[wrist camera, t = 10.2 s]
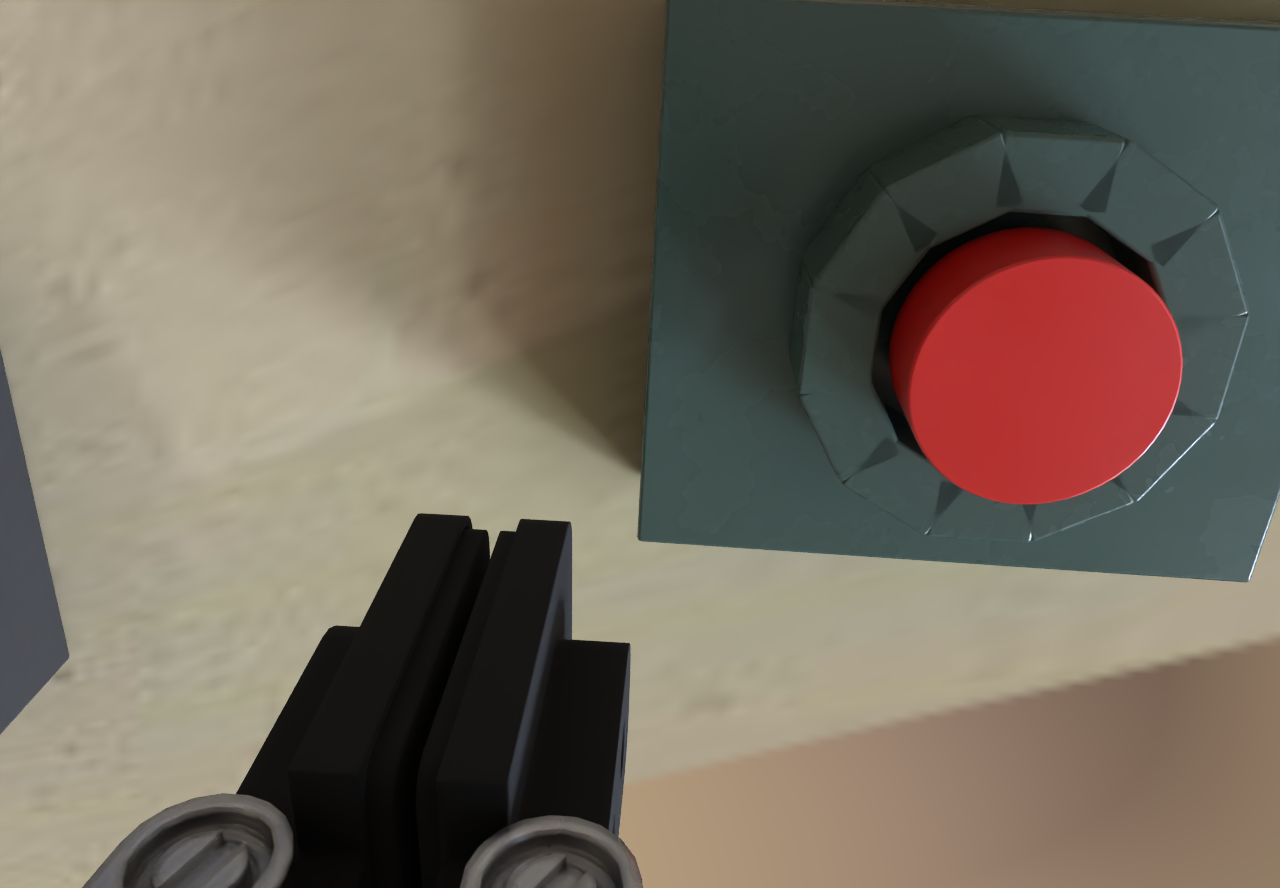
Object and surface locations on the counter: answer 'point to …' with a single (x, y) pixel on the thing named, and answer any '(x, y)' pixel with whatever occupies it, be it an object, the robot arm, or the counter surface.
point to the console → (927, 231)
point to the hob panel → (23, 580)
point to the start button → (1034, 365)
